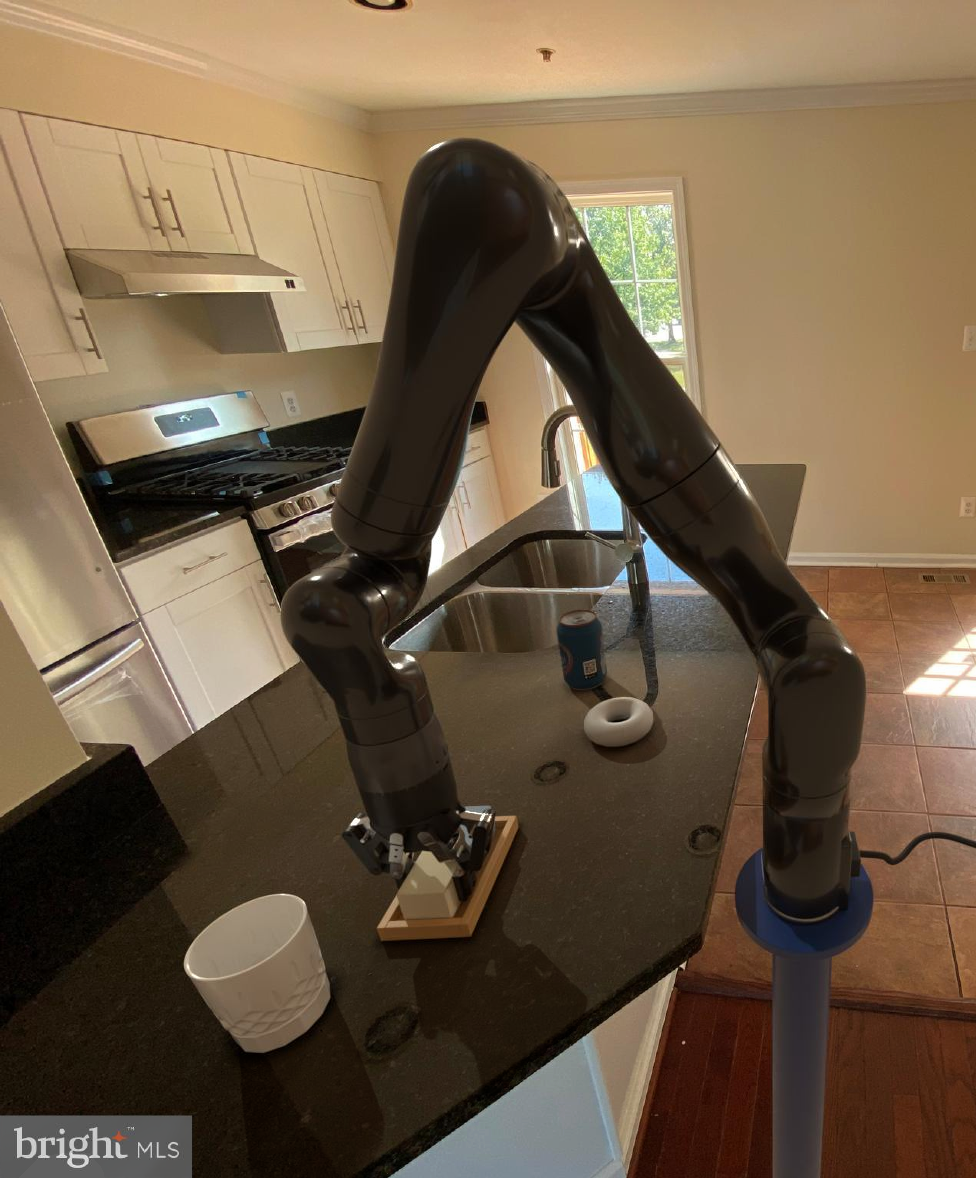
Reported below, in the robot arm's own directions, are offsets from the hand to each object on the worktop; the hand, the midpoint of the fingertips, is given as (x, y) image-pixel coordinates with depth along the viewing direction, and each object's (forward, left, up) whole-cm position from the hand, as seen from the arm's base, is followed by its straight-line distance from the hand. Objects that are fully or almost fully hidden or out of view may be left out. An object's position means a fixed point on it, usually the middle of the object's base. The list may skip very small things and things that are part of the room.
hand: (441, 894), depth 65 cm
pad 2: (0, -6, -1) cm, 6 cm away
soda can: (-5, -43, -2) cm, 44 cm away
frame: (0, -3, -1) cm, 4 cm away
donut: (-13, -29, -2) cm, 32 cm away
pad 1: (0, 0, 0) cm, 0 cm away
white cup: (+9, +11, -2) cm, 14 cm away
